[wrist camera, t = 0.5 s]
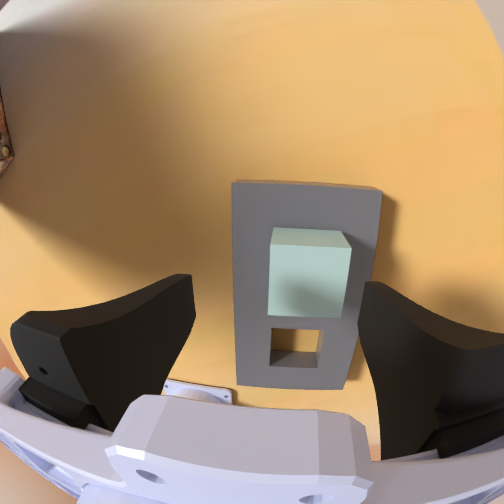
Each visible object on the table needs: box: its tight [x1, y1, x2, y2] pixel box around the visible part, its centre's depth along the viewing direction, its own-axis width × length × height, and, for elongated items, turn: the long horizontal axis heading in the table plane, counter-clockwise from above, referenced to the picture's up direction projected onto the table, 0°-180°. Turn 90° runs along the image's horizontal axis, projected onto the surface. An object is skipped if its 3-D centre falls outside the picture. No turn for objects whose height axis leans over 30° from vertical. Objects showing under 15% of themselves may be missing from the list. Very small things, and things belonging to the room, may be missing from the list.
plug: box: [268, 227, 352, 318], centre depth 18 cm, size 4×4×6 cm
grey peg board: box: [232, 180, 382, 390], centre depth 21 cm, size 18×10×2 cm, turn 0°
